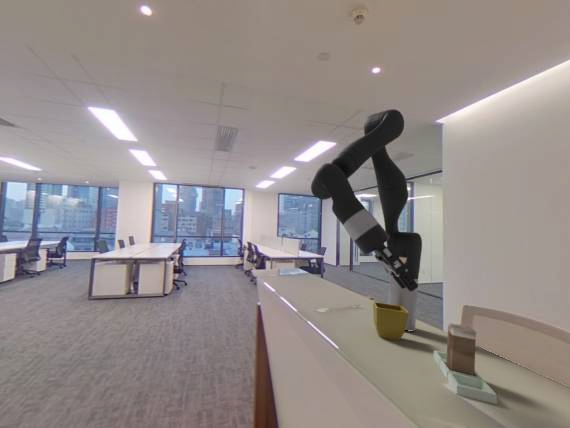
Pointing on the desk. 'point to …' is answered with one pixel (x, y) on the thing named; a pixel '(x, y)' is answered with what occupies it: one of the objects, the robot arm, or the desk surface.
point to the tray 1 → (440, 356)
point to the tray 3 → (472, 388)
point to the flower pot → (390, 320)
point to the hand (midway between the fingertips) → (410, 287)
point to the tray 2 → (446, 370)
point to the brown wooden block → (461, 349)
